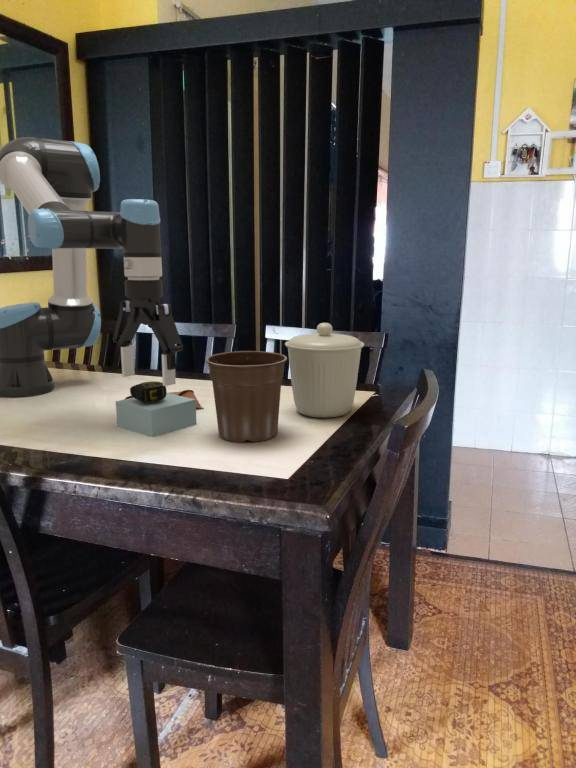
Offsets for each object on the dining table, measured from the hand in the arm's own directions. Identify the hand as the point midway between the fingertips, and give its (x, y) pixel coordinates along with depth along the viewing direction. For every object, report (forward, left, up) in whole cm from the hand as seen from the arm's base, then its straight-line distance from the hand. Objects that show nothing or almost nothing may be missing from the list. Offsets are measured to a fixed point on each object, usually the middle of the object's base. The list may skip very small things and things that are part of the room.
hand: (148, 380), depth 126 cm
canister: (+22, +33, -10) cm, 41 cm away
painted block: (0, +2, -11) cm, 11 cm away
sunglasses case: (-9, +11, -11) cm, 18 cm away
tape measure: (0, 0, -5) cm, 5 cm away
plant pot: (+20, +9, -10) cm, 24 cm away
